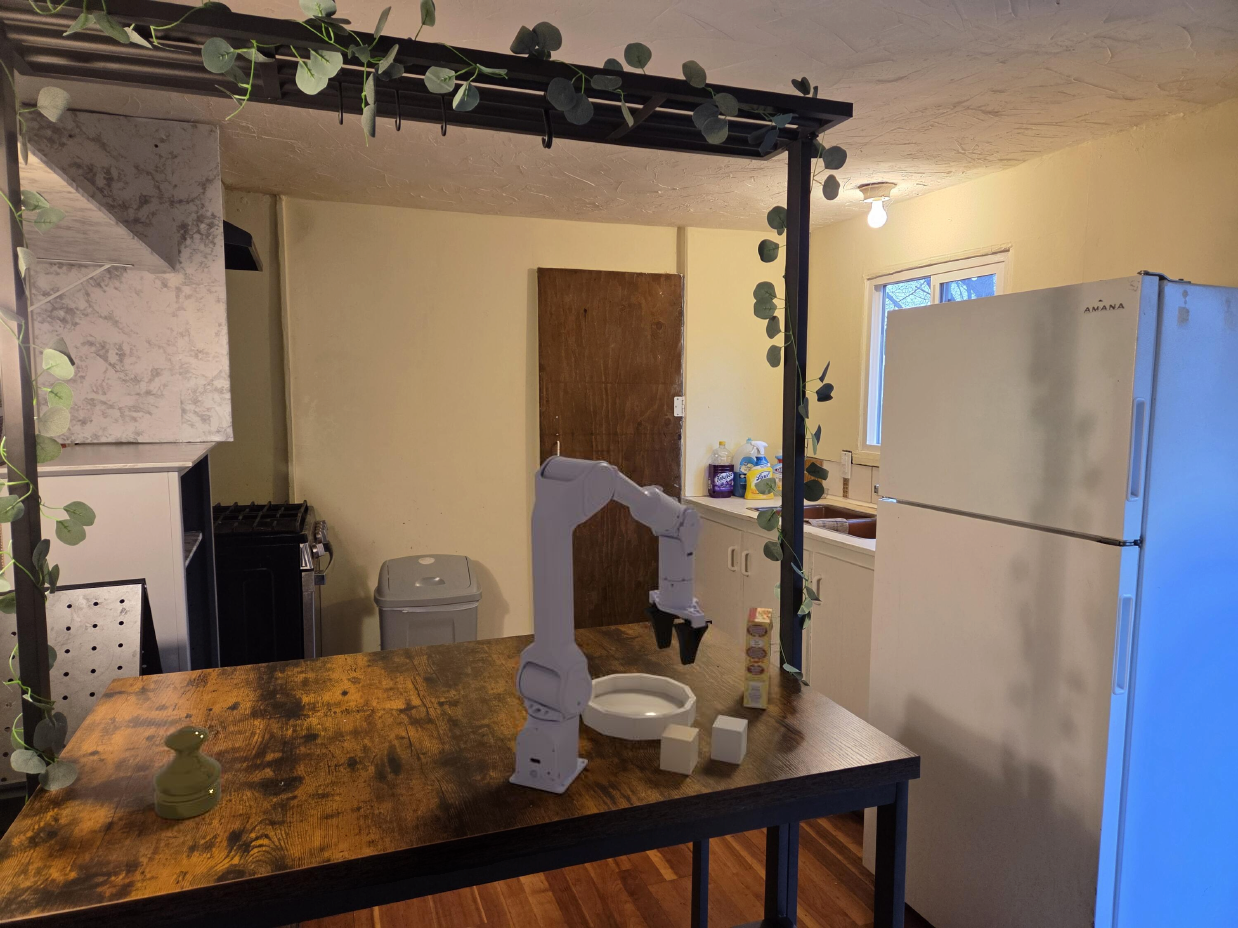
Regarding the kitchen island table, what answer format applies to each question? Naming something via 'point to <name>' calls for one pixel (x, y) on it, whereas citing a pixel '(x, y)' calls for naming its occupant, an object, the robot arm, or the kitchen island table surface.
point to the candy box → (757, 657)
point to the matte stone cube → (729, 739)
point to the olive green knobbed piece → (187, 777)
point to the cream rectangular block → (679, 749)
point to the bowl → (638, 706)
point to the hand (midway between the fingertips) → (675, 655)
